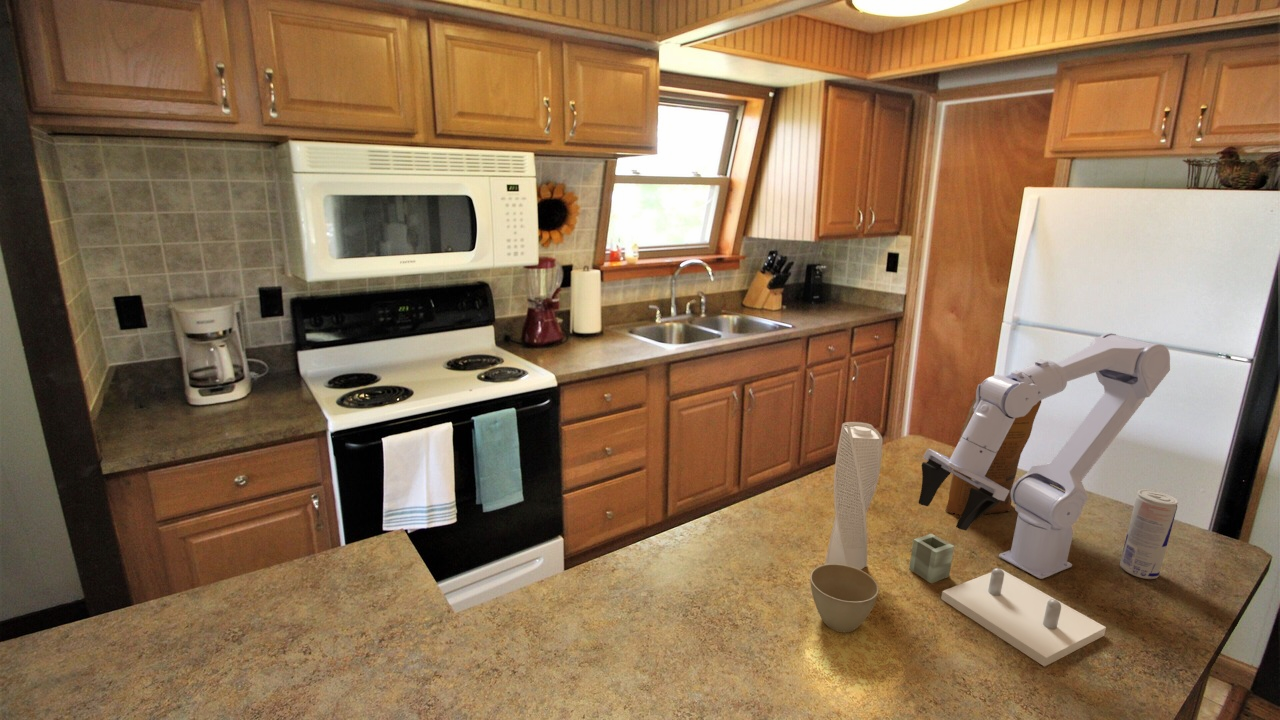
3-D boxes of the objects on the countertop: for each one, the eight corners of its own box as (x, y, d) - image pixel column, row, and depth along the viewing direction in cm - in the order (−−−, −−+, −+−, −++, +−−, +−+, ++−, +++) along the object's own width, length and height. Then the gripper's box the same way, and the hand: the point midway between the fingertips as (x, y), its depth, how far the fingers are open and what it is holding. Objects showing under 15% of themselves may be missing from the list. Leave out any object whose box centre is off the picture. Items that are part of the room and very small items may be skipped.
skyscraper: (851, 584, 108) (871, 430, 100) (814, 564, 113) (830, 417, 106) (875, 567, 113) (895, 419, 105) (838, 549, 118) (855, 408, 111)
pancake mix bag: (1032, 514, 133) (1057, 387, 126) (954, 523, 129) (976, 392, 121) (1007, 499, 139) (1030, 378, 132) (932, 507, 135) (952, 382, 128)
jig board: (998, 576, 111) (1004, 546, 109) (1103, 635, 96) (1112, 602, 95) (941, 599, 104) (946, 567, 103) (1044, 666, 89) (1052, 631, 88)
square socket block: (926, 563, 114) (931, 533, 113) (949, 576, 110) (954, 546, 109) (909, 569, 112) (913, 539, 111) (931, 583, 108) (936, 552, 107)
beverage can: (1165, 583, 110) (1186, 505, 106) (1129, 578, 111) (1148, 501, 107) (1147, 565, 115) (1166, 490, 111) (1113, 561, 116) (1131, 486, 112)
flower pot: (873, 609, 101) (878, 570, 99) (873, 651, 92) (879, 608, 90) (809, 596, 104) (813, 557, 102) (803, 634, 95) (807, 593, 93)
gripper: (929, 422, 109) (894, 491, 111) (1007, 460, 96) (966, 537, 98) (951, 430, 112) (917, 497, 114) (1029, 468, 100) (989, 542, 102)
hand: (941, 516), depth 107 cm, fingers open, 7 cm apart
